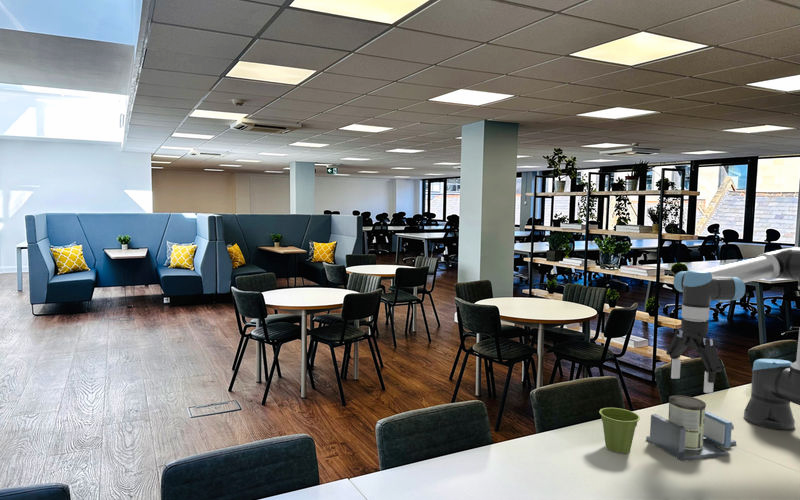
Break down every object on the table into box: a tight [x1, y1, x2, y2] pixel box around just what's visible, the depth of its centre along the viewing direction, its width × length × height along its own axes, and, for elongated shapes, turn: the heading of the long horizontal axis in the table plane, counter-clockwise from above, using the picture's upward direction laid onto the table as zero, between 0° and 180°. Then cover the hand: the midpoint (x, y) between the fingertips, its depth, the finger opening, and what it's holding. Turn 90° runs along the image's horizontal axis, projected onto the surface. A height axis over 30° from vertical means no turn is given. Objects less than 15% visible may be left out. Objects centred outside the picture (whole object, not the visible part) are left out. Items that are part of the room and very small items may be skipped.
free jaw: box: [703, 410, 735, 448], centre depth 167 cm, size 9×11×8 cm
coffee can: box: [667, 394, 707, 450], centre depth 163 cm, size 10×10×14 cm
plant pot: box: [598, 407, 641, 454], centre depth 161 cm, size 12×12×11 cm
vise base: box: [645, 413, 737, 462], centre depth 164 cm, size 27×15×9 cm, turn 105°
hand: (691, 385), depth 162 cm, fingers open, 13 cm apart
